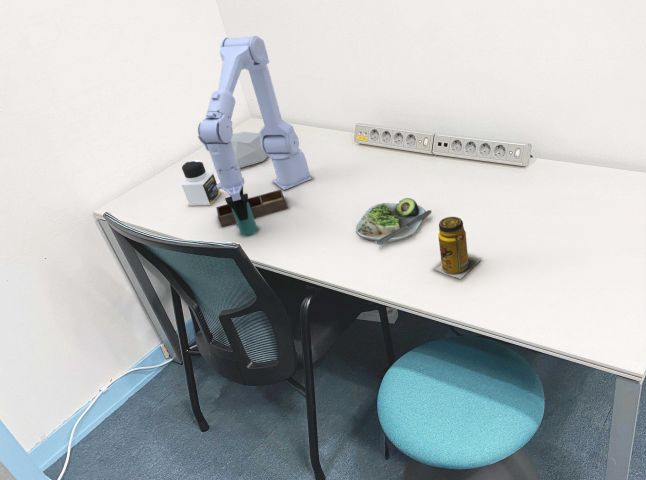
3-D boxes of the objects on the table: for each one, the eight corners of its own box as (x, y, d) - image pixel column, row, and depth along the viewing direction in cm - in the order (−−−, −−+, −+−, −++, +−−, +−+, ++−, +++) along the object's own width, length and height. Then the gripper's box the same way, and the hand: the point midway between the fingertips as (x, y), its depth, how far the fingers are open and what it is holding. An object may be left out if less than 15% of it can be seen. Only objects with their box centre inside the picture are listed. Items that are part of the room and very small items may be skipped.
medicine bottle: (210, 205, 179) (196, 168, 171) (189, 206, 180) (174, 169, 173) (220, 193, 184) (207, 157, 177) (199, 194, 186) (185, 158, 178)
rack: (283, 198, 176) (281, 189, 174) (287, 208, 171) (284, 199, 169) (219, 216, 173) (216, 207, 171) (221, 226, 168) (218, 217, 166)
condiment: (434, 270, 138) (428, 225, 131) (455, 251, 143) (451, 207, 135) (460, 279, 134) (456, 234, 127) (481, 260, 139) (478, 215, 131)
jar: (253, 224, 166) (245, 199, 161) (260, 231, 163) (251, 205, 158) (238, 231, 164) (228, 205, 160) (244, 238, 161) (235, 212, 156)
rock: (228, 151, 209) (219, 124, 203) (285, 141, 209) (278, 114, 203) (222, 174, 194) (212, 146, 188) (283, 163, 195) (275, 135, 189)
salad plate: (410, 253, 145) (408, 237, 142) (344, 246, 151) (340, 230, 148) (436, 211, 158) (434, 195, 156) (374, 206, 165) (371, 191, 162)
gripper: (208, 159, 157) (225, 205, 165) (212, 181, 145) (230, 229, 154) (235, 152, 158) (250, 198, 166) (241, 174, 147) (257, 222, 155)
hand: (242, 212), depth 160 cm, fingers open, 7 cm apart
